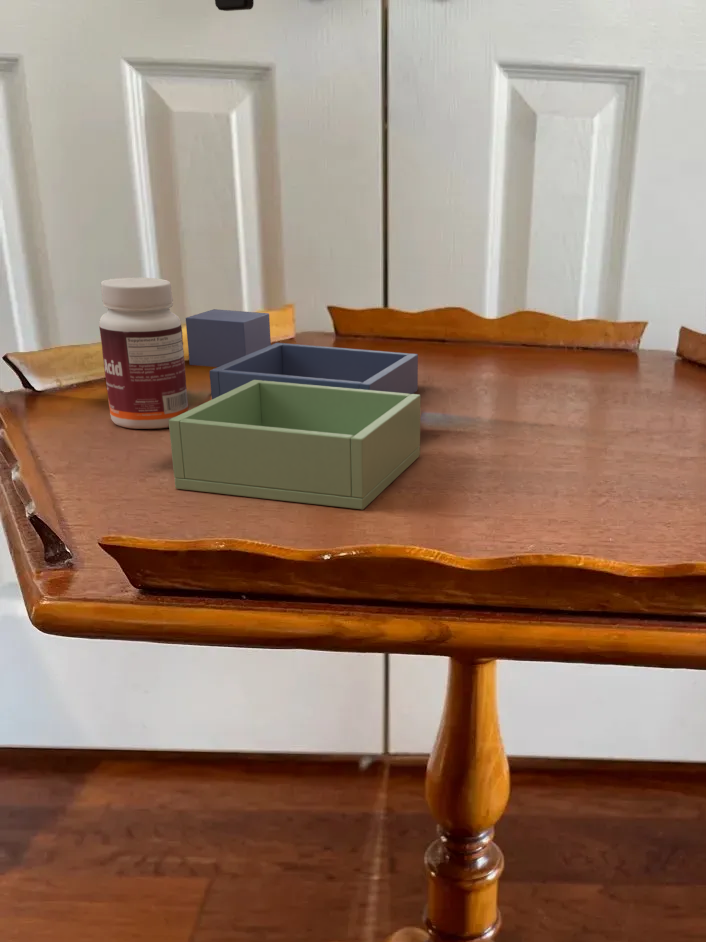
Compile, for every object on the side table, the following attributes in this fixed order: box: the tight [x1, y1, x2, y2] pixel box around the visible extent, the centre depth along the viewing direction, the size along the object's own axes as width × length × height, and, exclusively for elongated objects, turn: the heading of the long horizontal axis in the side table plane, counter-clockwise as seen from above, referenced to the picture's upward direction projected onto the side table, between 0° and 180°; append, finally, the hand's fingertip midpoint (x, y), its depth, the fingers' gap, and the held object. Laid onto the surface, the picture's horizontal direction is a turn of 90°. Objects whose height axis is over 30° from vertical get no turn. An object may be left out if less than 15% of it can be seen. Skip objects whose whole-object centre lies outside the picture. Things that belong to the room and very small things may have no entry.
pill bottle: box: [98, 276, 190, 430], centre depth 63 cm, size 5×5×8 cm
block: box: [185, 308, 272, 368], centre depth 76 cm, size 4×4×4 cm
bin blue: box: [209, 342, 419, 400], centre depth 66 cm, size 10×10×4 cm
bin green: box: [168, 380, 422, 510], centre depth 55 cm, size 10×10×4 cm
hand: (174, 1), depth 65 cm, fingers open, 9 cm apart
